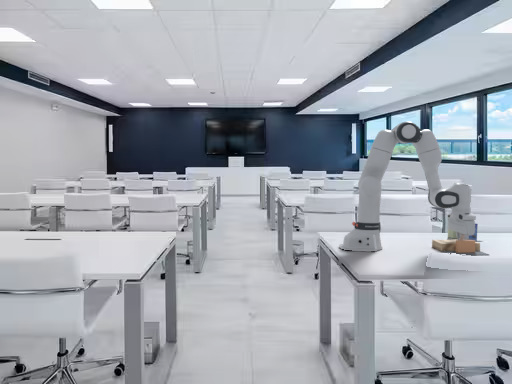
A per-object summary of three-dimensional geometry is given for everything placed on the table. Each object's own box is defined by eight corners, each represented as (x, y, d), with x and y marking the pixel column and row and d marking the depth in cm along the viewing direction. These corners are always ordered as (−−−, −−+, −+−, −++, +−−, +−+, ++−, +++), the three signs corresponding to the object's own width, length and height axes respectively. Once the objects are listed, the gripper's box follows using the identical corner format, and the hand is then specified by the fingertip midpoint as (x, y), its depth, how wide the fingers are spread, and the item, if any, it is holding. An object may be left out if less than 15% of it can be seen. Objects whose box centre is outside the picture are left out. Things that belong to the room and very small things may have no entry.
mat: (453, 255, 205) (453, 255, 205) (443, 251, 215) (443, 250, 215) (489, 255, 206) (489, 254, 206) (477, 250, 216) (478, 250, 216)
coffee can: (450, 236, 258) (451, 213, 257) (468, 238, 251) (469, 215, 250) (444, 238, 250) (445, 215, 250) (463, 240, 243) (463, 216, 242)
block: (455, 251, 212) (457, 252, 210) (455, 240, 212) (457, 240, 210) (473, 251, 212) (475, 252, 210) (473, 239, 212) (475, 240, 210)
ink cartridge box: (477, 245, 229) (478, 219, 228) (468, 246, 228) (469, 219, 227) (465, 242, 239) (465, 217, 238) (456, 242, 238) (457, 217, 237)
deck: (441, 251, 215) (441, 243, 215) (432, 247, 226) (432, 239, 226) (479, 250, 216) (480, 243, 215) (468, 246, 227) (468, 239, 226)
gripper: (445, 212, 225) (444, 237, 226) (465, 217, 205) (464, 245, 206) (456, 212, 226) (455, 237, 226) (477, 217, 205) (477, 244, 206)
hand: (460, 241), depth 216 cm, fingers closed
